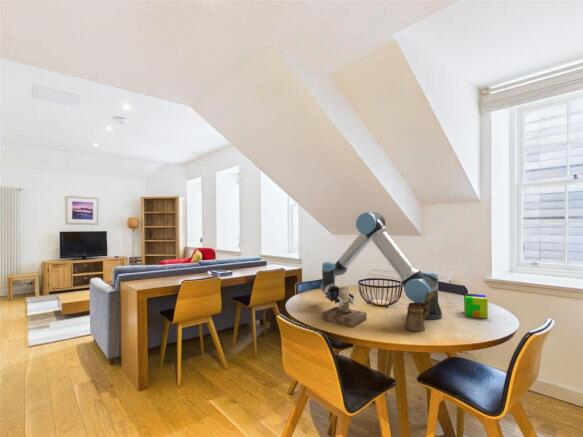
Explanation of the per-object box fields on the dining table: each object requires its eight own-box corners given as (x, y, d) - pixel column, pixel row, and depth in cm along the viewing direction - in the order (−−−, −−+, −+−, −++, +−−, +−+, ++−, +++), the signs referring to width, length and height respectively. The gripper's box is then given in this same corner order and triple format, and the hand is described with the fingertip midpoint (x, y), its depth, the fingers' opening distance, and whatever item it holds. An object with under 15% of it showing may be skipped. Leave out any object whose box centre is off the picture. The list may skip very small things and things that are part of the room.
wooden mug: (437, 332, 144) (440, 293, 143) (408, 331, 144) (410, 292, 143) (429, 325, 153) (431, 288, 152) (401, 324, 153) (403, 287, 152)
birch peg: (351, 318, 163) (350, 287, 163) (345, 321, 159) (345, 289, 159) (342, 317, 166) (342, 286, 166) (337, 319, 162) (337, 288, 162)
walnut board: (366, 320, 162) (366, 312, 162) (353, 327, 151) (352, 318, 151) (336, 313, 173) (336, 306, 174) (321, 319, 163) (321, 312, 163)
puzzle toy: (485, 313, 173) (484, 295, 173) (487, 318, 164) (487, 299, 164) (464, 311, 177) (464, 293, 177) (465, 316, 168) (465, 297, 168)
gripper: (348, 297, 182) (364, 308, 159) (318, 299, 179) (330, 310, 156) (348, 284, 182) (364, 293, 159) (318, 286, 179) (330, 295, 156)
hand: (347, 302), depth 157 cm, fingers closed on birch peg, 5 cm apart
